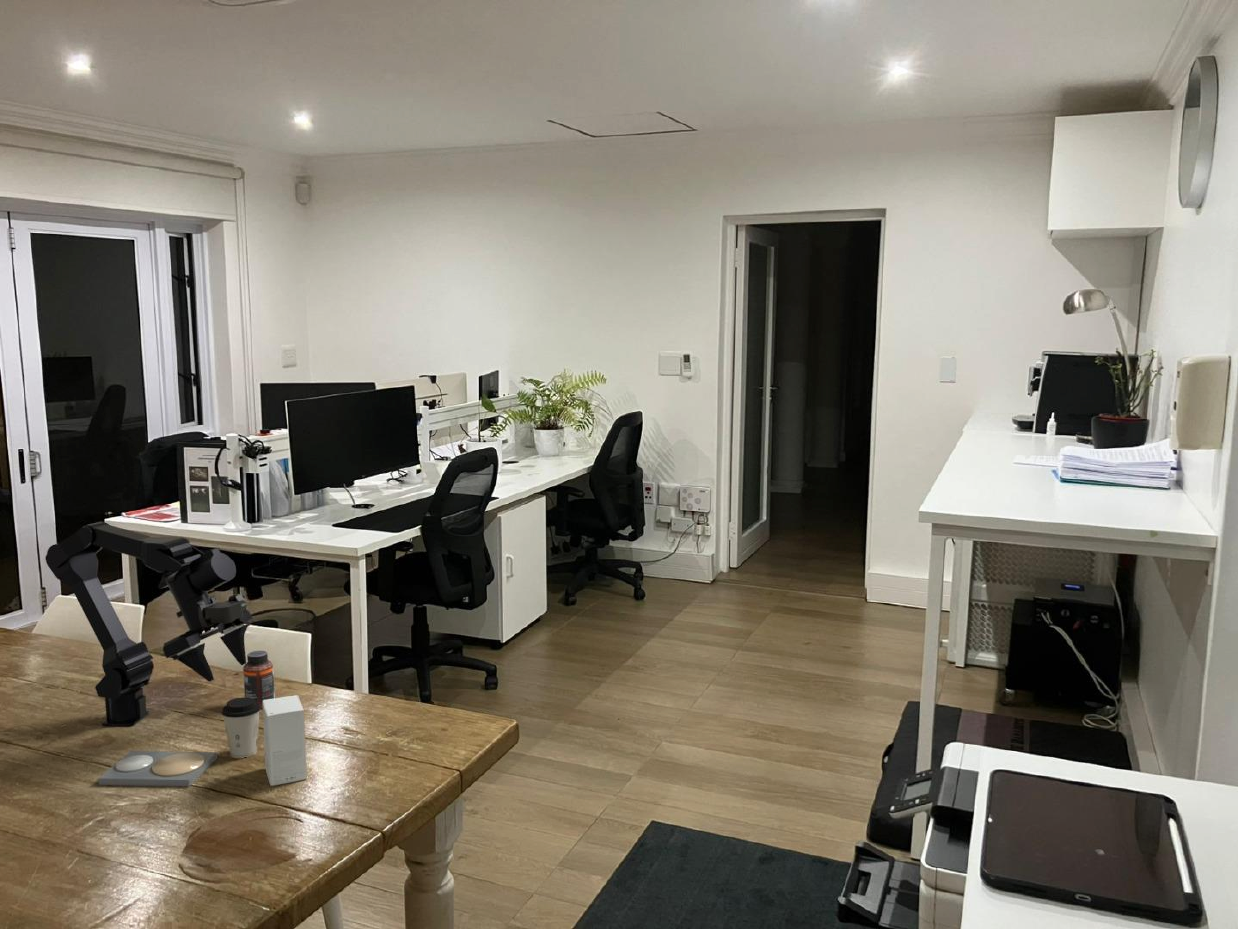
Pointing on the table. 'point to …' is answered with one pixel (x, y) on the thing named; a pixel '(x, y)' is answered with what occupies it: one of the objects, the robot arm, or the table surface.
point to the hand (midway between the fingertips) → (228, 672)
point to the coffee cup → (242, 726)
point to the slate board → (158, 768)
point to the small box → (284, 740)
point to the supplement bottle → (258, 677)
